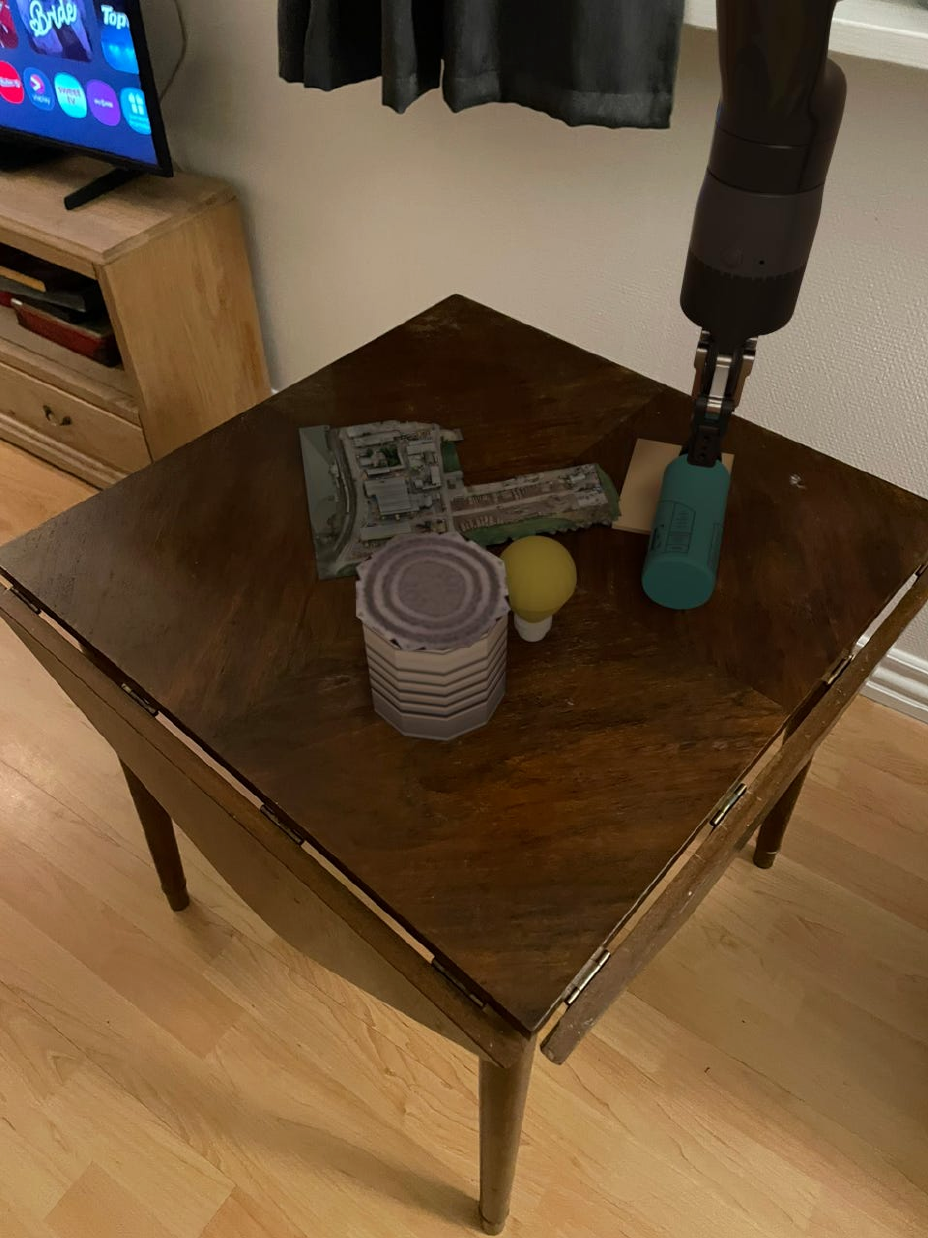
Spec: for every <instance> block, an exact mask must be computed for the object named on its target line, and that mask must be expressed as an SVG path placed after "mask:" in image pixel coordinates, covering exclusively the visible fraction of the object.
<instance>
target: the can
mask: <svg viewBox="0 0 928 1238" xmlns="http://www.w3.org/2000/svg"><path fill="white" fill-rule="evenodd" d="M499 558H500V557H498V556H496V555H495V554H493V553H491V552H490V551H488V549H486V550H485V549H484V548H482V547H481V546H479V545H478V544H476V543H475V542H473V541H471V540H470V539H468V538H467V537H465V536H464V535H462V534H461V533H459V532H435V533H409V534H397V535H396V536H395V537H394V538H392V539H391V540H390V541H389V542H387V543H386V544H385V545H383V546H382V547H381V548H380V549H378V550H377V551H376V552H375V553H373V554H372V555H371V556H370V557H368V558H367V559H366V560H365V561H363V562H362V563H361V564H360V565H358V566H357V567H356V575H355V600H356V601H355V616H356V617H357V618H358V619H360V620H361V623H362V629H363V637H364V644H365V651H366V652H365V653H366V658H367V665H368V666H367V667H368V673H369V679H370V680H369V681H370V686H371V695H372V702H373V709H374V712H375V713H376V714H377V715H379V716H380V717H381V718H382V719H383V720H385V721H386V722H387V723H388V724H389V725H390V726H391V727H393V728H394V729H395V730H396V731H398V732H399V733H400V734H401V735H402V736H404V737H411V738H419V739H427V740H436V741H443V742H449V741H451V740H453V739H456V738H458V737H460V736H463V735H465V734H468V733H470V732H472V731H475V730H478V729H479V728H481V727H484V726H487V725H488V723H489V721H490V720H491V717H492V716H493V714H494V713H495V711H496V709H497V708H498V707H499V705H500V703H501V701H502V699H503V698H504V697H505V695H506V683H507V682H506V677H507V651H508V649H507V646H508V619H509V618H508V617H509V612H510V611H512V610H511V608H510V601H509V593H508V586H507V579H506V572H505V565H504V561H502V560H501V559H499Z"/></svg>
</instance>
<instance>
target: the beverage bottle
mask: <svg viewBox="0 0 928 1238" xmlns="http://www.w3.org/2000/svg"><path fill="white" fill-rule="evenodd" d="M690 441H691V436H690V437H689V438H686V440H685V441H684V442H683V444H682V445H681V446H682V448H681V451H680V453H679V456H678V457H677V458H675V459H674V460H672V461H671V462H670V463H669V464H668V465H667V467H666V468H665V471H664V474H663V482H662V487H661V491H660V496H659V501H658V504H657V508H656V512H655V514H654V515H655V516H653V517H654V518H652V519H653V520H654V521H652V522H653V526H652V525H651V526H652V530H651V535H647V536H648V538H647V539H646V543H647V544H646V545H645V550H644V555H643V559H642V563H641V567H642V570H640V572H639V573H641V576H639V579H640V581H641V584H642V588H643V590H644V593H645V594H646V595H647V596H648V597H649V599H651V600H652V601H653V602H655V603H657V604H659V605H660V606H663V607H665V608H669V609H673V610H689V609H694V608H698V607H700V606H702V605H704V604H705V603H706V602H707V601H709V599H710V598H711V596H712V595H713V594H714V592H715V588H717V585H716V583H718V578H719V571H720V566H721V559H722V558H721V557H722V556H721V554H722V550H723V549H722V548H723V541H724V540H723V536H724V534H725V532H724V531H725V530H726V529H725V528H724V522H725V517H726V509H727V503H728V496H729V490H730V487H731V475H729V472H728V470H727V468H726V467H725V466H724V465H723V463H722V453H723V449H722V445H721V444H720V448H719V452H718V457H717V461H716V465H715V466H714V467H712V468H705V467H700V466H694V465H690V464H689V463H688V462H687V455H688V451H689V446H690ZM655 507H656V506H655ZM651 524H652V523H651ZM651 526H650V527H651ZM649 532H650V531H649Z"/></svg>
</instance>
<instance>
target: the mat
mask: <svg viewBox="0 0 928 1238" xmlns="http://www.w3.org/2000/svg"><path fill="white" fill-rule="evenodd" d="M682 446H683V445H679V444H674V443H667V442H663V441H656V440H650V439H645V438H640V437H639V438H637V439H636V441H635V446H634V449H633V452H632V456H631V460H630V462H629V466H628V469H627V473H626V475H625V479H624V483H623V486H622V489H621V492H620V495H619V497H620V499H621V500H620V501H617V502H618V504H619V508H620V512H621V514H622V516H618V521H613V522H612V523H611V529H613V530H619V531H624V532H630V533H635V534H639V535H646V536H650V535H651V530H652V526H653V522H652V521H654V520H653V519H652V518H654V517H653V516H655V515H654V514H655V512H656V508H657V504H658V501H659V496H660V491H661V487H662V482H663V474H664V471H665V468H666V467H667V465H668V464H669V463H670V462H671V461H672V460H674V459H675V458H677V457H678V456H679V453H680V451H681V448H682ZM734 457H735V454H732V453H726V452H722V463H723V465H724V466H725V467H726V468H727V470H728V472H729V475H730V476H731V474H732V468H733V464H734V463H733V462H734ZM655 506H656V507H655ZM651 523H652V524H651ZM651 525H652V526H651ZM650 526H651V527H650ZM649 531H650V532H649Z"/></svg>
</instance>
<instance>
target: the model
mask: <svg viewBox="0 0 928 1238" xmlns="http://www.w3.org/2000/svg"><path fill="white" fill-rule="evenodd" d="M461 431H462V430H461V428H460V427H458V428H455V429H450V428H447V427H446V428H445V427H444V426H442V425H440V424H437V423H435V422H431V423H426V422H425V423H423V422H417V420H414V421H408V420H407V419H405V422H400V421H399V420H397V419H392V420H390V419H389V420H385V421H382V422H381V421H377V422H371V423H370V422H369V423H363V424H356V425H349V426H348V425H347V426H343V427H336V428H330V425H329V424H320V425H313V426H306V427H300V428H298V432H299V440H300V447H301V455H302V463H303V471H304V479H305V480H304V481H305V487H306V494H307V503H308V510H309V519H310V527H311V536H312V543H313V544H314V552H315V553H314V554H315V561H316V569H317V577H318V581H324V580H330V579H336V578H341V577H349V576H356V567H357V566H358V565H360V564H361V563H362V562H363V561H365V560H366V559H367V558H368V557H370V556H371V555H372V554H373V553H375V552H376V551H377V550H378V549H380V548H381V547H382V546H383V545H385V544H386V543H387V542H389V541H390V540H391V539H392V538H394V537H395V536H396V535H397V534H409V533H435V532H459V533H461V534H462V535H464V536H465V537H467V538H468V539H470V540H471V541H473V542H475V543H476V544H478V545H479V546H481V547H482V548H484V549H485V550H487V546H490V545H491V546H492V545H496V544H497V545H498V544H504V543H505V542H506V541H508V539H509V538H511V540H512V541H513V542H515V541H517V540H519V539H521V538H524V537H528V536H537V535H536V534H541V533H548V534H550V535H555V534H556V532H557V531H559V532H562V533H564V534H566V532H567V531H568V529H570V530H571V531H573V532H577V531H578V530H579V528H582V529H585V530H588V529H589V528H590V527H591V526H592V524H598V523H599V524H603V525H606V526H608V527H610V526H611V525H612V522H613V521H618V516H622V514H621V512H620V508H619V504H618V502H619V501H620V500H621V499H620V495H619V493H618V491H617V489H616V487H615V485H614V483H613V481H612V478H611V476H610V475H609V474H607V473H606V472H605V471H604V470H603V469H602V468H601V467H600V464H599V463H598V462H592V463H586V464H583V465H577V466H573V467H572V466H571V467H566V468H564V467H563V468H559V469H552V470H545V471H539V472H533V473H525V474H519V475H514V477H515V478H510V479H507V480H502V481H495V482H490V483H483V484H477V485H470V486H467V485H465V484H464V481H463V478H465V475H464V472H463V468H462V466H461V461H460V458H459V455H458V452H457V449H456V448H458V446H457V445H456V444H455V442H458V441H463V440H464V438H463V435H462V432H461Z"/></svg>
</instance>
